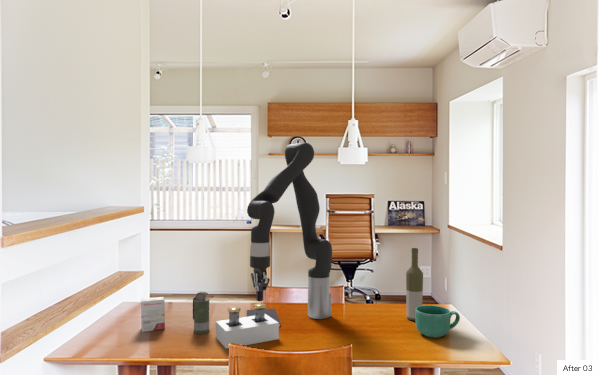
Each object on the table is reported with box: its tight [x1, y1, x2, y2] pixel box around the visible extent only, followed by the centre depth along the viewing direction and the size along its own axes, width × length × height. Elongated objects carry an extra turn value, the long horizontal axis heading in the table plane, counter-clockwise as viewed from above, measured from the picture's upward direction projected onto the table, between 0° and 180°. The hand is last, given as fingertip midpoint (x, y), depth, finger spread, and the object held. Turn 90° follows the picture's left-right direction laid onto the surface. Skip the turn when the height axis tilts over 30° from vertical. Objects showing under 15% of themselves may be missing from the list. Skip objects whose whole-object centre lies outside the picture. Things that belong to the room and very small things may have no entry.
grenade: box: [192, 291, 210, 335], centre depth 163 cm, size 6×6×15 cm
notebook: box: [246, 308, 281, 328], centre depth 179 cm, size 13×2×21 cm
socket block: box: [215, 314, 280, 349], centre depth 156 cm, size 20×12×6 cm, turn 118°
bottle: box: [405, 247, 424, 322], centre depth 180 cm, size 7×7×30 cm
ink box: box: [140, 296, 166, 333], centre depth 166 cm, size 9×5×12 cm, turn 110°
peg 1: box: [227, 306, 242, 327], centre depth 154 cm, size 5×5×6 cm
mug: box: [414, 304, 461, 339], centre depth 162 cm, size 17×13×10 cm
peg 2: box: [253, 303, 267, 323], centre depth 159 cm, size 5×5×6 cm
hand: (259, 300), depth 158 cm, fingers closed
